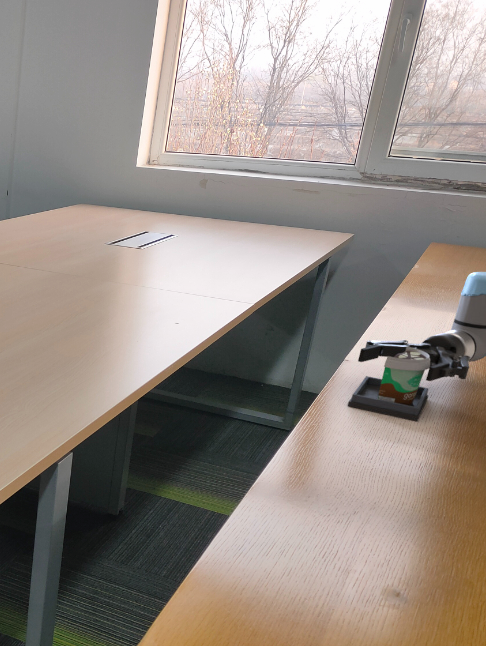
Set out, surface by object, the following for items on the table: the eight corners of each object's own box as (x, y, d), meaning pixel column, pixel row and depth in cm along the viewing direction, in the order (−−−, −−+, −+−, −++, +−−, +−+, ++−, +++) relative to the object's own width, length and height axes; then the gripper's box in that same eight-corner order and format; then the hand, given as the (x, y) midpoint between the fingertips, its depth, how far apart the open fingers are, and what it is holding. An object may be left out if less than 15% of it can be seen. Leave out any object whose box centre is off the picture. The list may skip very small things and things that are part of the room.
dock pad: (427, 399, 167) (430, 388, 166) (417, 421, 154) (420, 409, 154) (361, 386, 174) (364, 375, 173) (347, 406, 161) (350, 394, 160)
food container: (407, 413, 156) (421, 364, 152) (373, 404, 160) (386, 356, 156) (427, 400, 163) (441, 353, 160) (395, 391, 168) (407, 345, 164)
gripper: (505, 384, 163) (455, 401, 152) (383, 352, 182) (331, 365, 171) (516, 348, 160) (466, 363, 149) (391, 320, 179) (339, 331, 168)
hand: (394, 364), depth 160 cm, fingers open, 13 cm apart
